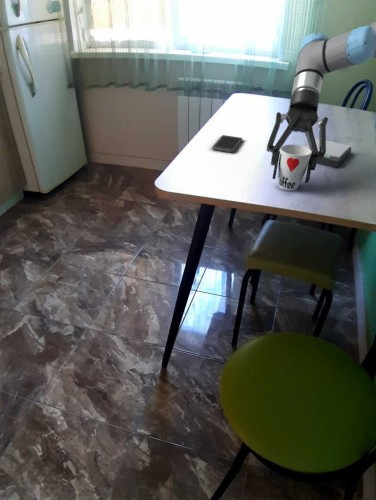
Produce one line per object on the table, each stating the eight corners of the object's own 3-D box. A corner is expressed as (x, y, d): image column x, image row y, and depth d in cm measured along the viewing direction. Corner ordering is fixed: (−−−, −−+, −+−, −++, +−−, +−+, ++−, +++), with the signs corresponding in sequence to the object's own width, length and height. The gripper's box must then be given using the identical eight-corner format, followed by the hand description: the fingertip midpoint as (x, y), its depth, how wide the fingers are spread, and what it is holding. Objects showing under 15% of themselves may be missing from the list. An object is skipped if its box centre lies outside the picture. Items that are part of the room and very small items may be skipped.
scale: (349, 154, 136) (352, 146, 134) (335, 168, 126) (338, 159, 125) (312, 145, 141) (314, 137, 139) (296, 158, 131) (298, 149, 129)
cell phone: (242, 139, 142) (243, 137, 141) (233, 153, 132) (233, 150, 131) (222, 136, 143) (222, 134, 143) (211, 149, 133) (211, 147, 133)
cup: (267, 185, 115) (274, 148, 108) (285, 178, 119) (293, 142, 112) (291, 195, 111) (299, 157, 104) (308, 188, 115) (317, 151, 108)
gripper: (341, 108, 113) (327, 189, 112) (265, 101, 115) (251, 179, 115) (348, 91, 105) (333, 177, 105) (267, 83, 108) (252, 167, 107)
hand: (290, 178), depth 110 cm, fingers closed on cup, 8 cm apart
